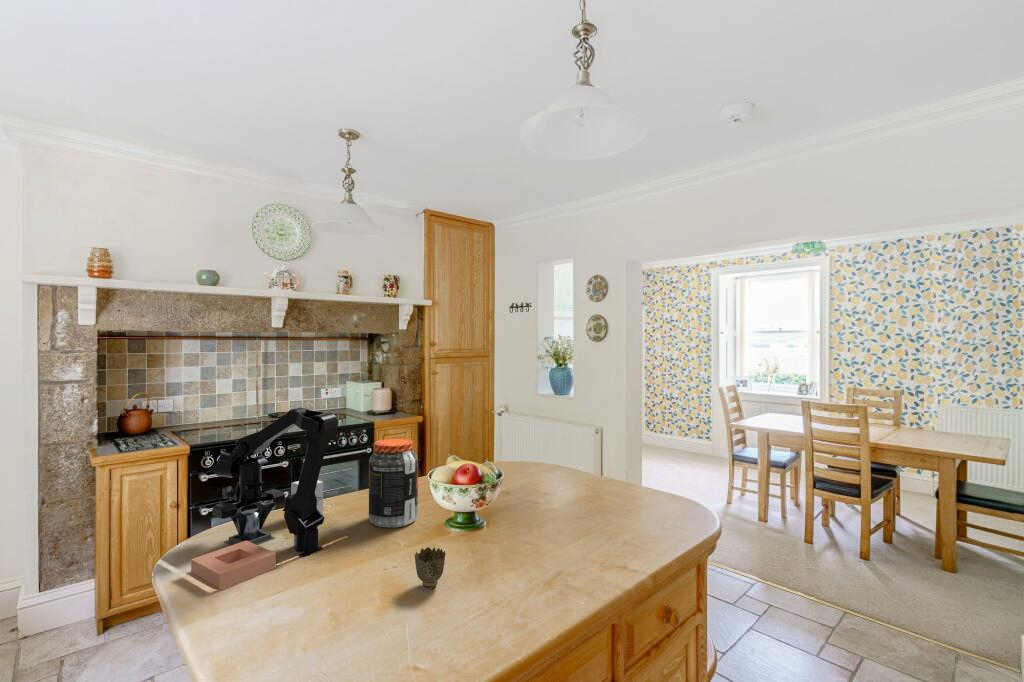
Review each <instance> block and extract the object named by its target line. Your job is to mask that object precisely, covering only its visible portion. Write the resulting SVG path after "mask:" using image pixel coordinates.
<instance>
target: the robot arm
mask: <svg viewBox="0 0 1024 682" xmlns="http://www.w3.org/2000/svg"><path fill="white" fill-rule="evenodd" d="M295 426H296V427H297V428H298V429H300V430H303V431H305V438H306V441H307V447H306V452H305V456H304V460H303V464H302V468H301V472H300V475H299V480H298V481H299V483H298V487H297V491H296V493H295V494H293V495H291V494H290V495H289V496H287V497H286V494H285V492H284V491H283V490H279V489H276V488H273V489H268V490H265V491H263V492H262V487H263V486H264V485H265V482H264V481H262V465H265V464H267V463H269V462H268V459H266V458H265V457H264V456H263V455H259V454H261V453H263V452H265V450H267V448H268V447H269V446H270V445H271V443H272V442H273V441H274V440H275V439H277V438H278V437H280V436H282V435H284V433H286V432H288V431H290V430H291V429H292V428H294V427H295ZM338 427H339V419H338V418H337V416H336V415H335V414H334V413H333V412H323V411H318V410H317V411H316V410H311V409H308V408H304V407H297V408H292V409H290V410H288V411H287V412H286V413H285V414H284V415H282V416H281V417H279V418H278V419H275V420H274V421H273V422H271V423H270V424H268V425H267V426H265V427H264V428H262V429H261V430H259V431H256V432H253V433H251V434H248V435H245V436H243V437H240V438H238V439H237V440H236V441H235V446H234V447H233V449H232V451H231V452H223V453H220V454H219V458H218V459H217V460H216V462H215V465H214V466H213V472H214V474H215V475H216V476H217V477H221V478H222V477H224V478H232V479H233V478H234V479H235V478H236V479H237V478H238V482H236V485H235V487H234V488H233V487H232V486H231V485H229V486H225V487H222V490H221V491H222V493H221V495H222V499H223V500H226V499H229V501H230V502H229V501H224V502H221V503H217V504H215V505H213V508H212V509H211V510H212V511H211V512H212V513H211V515H212V516H215V517H217V518H218V519H223V520H225V519H228V518H230V519H231V521H232V523H233V524H234V527H235V529H236V531H237V534H239V535H240V536H242V534H243V526H244V514H243V513H242V509H246V508H249V507H252V506H253V507H254V506H255V505H256V508H257V510H259V511H260V530H262V528H263V527H264V525H265V522H266V521H267V519H268V516H269V515H270V514H271V511H272V510H273V508H275V507H277V506H276V505H277V504H279V503H283V502H285V503H284V504H285V505H284V508H283V510H282V512H283V518H284V520H285V523H286V525H287V529H288V532H289V534H293V536H294V539H293V541H294V545H293V546H294V548H295V549H294V550H295V552H297V553H299V554H298V556H300V557H303V558H304V557H306V556H307V557H308V555H311V554H314V553H316V552H319V551H321V550H323V548H324V546H321V545H319V528H318V527H319V526H321V525H323V524H324V521H325V516H324V514H323V515H322V514H321V512H320V511H319V510H318V509H317V498H316V495H315V489H316V485H317V481H318V480H319V476H320V473H321V469H322V465H323V461H324V458H325V453H326V450H327V446H328V445H329V443H330V442H331V440H332V439H333V438H334V437H335V434H336V432H337V430H338ZM255 455H258V456H256V457H254V456H255ZM231 501H236V502H235V503H232V502H231ZM305 521H307V522H305ZM303 522H305V523H303Z"/></svg>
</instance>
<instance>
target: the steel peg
mask: <svg viewBox="0 0 1024 682" xmlns="http://www.w3.org/2000/svg"><path fill="white" fill-rule="evenodd" d="M241 513H243V514H244V526H243V534H242V536H240V540H241V541H246V540H247V541H250V540H253V539H256V538H259V537H260V530H261V529H260V511H259V510H258V509H246V510H244V511H241Z"/></svg>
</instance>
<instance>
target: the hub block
mask: <svg viewBox="0 0 1024 682" xmlns="http://www.w3.org/2000/svg"><path fill="white" fill-rule="evenodd" d="M276 557H277V553H276V552H274V551H273V550H272V551H271V550H269V549H267V548H265V547H263V546H260V545H256V544H253V543H251V542H249V541H247V540H246V541H243V542H240V543H237V544H234V545H229V546H226V547H223V548H220V549H218V550H214V551H211V552H208V553H206V554H203V555H200V556H196V557H193V558H192V559H190V565H191V566H190V572H191V573H192V574H194V575H196V576H197V577H199V578H201V579H202V580H205V581H206V582H209V583H210V584H212V585H214V586H216V587H214V589H215V590H217V591H219V592H222V591H224V590H226V589H229V588H231V587H233V586H236V585H238V584H241V583H244V582H246V581H248V580H252V579H253V578H256V577H258V576H261V575H263V574H265V573H268V572H270V571H273V570H275V569H276V567H277V566H276V565H277V563H276V562H277V559H276Z"/></svg>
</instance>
